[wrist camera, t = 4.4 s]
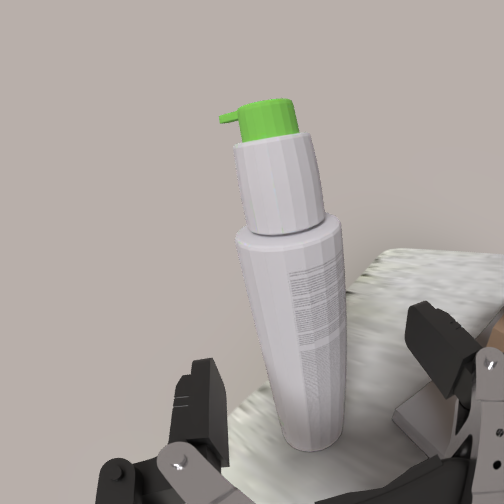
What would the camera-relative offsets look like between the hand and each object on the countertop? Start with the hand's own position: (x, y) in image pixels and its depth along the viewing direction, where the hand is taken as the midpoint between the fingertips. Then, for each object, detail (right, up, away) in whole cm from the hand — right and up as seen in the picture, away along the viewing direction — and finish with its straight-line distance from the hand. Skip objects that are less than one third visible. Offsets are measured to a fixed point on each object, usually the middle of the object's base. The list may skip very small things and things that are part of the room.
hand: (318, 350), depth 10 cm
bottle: (+2, -9, +7) cm, 11 cm away
